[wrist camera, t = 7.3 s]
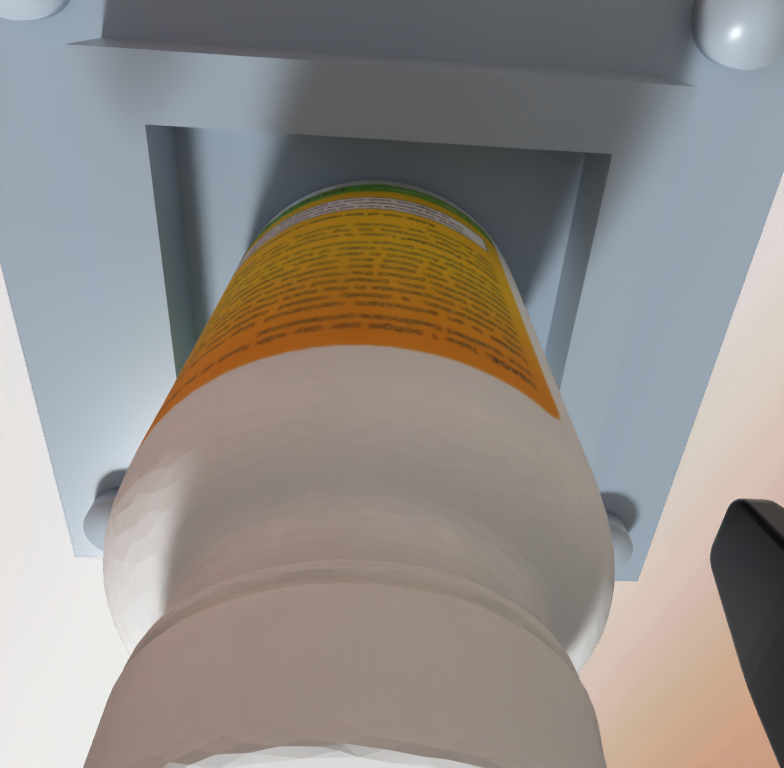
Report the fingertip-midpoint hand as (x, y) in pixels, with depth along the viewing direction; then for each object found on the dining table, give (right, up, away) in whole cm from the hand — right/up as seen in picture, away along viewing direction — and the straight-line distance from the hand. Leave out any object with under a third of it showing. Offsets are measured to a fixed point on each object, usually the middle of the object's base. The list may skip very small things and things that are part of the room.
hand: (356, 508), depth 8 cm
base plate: (0, +3, +6) cm, 7 cm away
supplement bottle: (0, +3, +5) cm, 6 cm away
